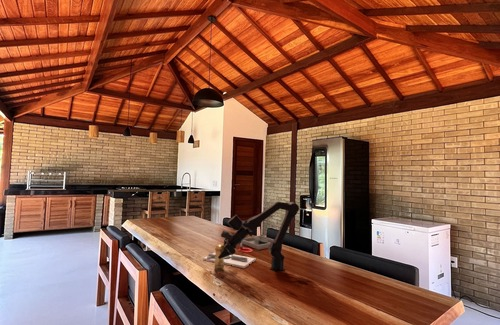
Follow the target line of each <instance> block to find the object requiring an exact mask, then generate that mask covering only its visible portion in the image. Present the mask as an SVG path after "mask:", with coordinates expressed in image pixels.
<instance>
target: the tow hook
mask: <svg viewBox="0 0 500 325" xmlns="http://www.w3.org/2000/svg"><path fill="white" fill-rule="evenodd" d="M238 248H239V249H237V251H238V252H241V253H245V254H247V253H248V254H249V253H252V252H253V248H251V247H250V248H249V247H244V245H243V243H242V242H241V243H239V247H238Z"/></svg>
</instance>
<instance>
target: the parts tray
mask: <svg viewBox="0 0 500 325" xmlns="http://www.w3.org/2000/svg"><path fill="white" fill-rule="evenodd" d="M254 236H255V235H254ZM254 236H252V237H251V236H250V237H249V236H248V237H245V238H244V239H243V240H242V243H243V244H242V246H247V247H248V248H249V247H250V248H251V249H255V250H258V251H260V250H263V249H264V250H265V249H269V245H270V242H271V240H272V241H274V240H275V238H274V239H273V238H270V237H266V236H263V235H256V236H255V237H260V239H261V238H263V239H268V242H266V241H261V240H259V242H258V245H257V244H254V241H255V239H252V238H253V237H254Z"/></svg>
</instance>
